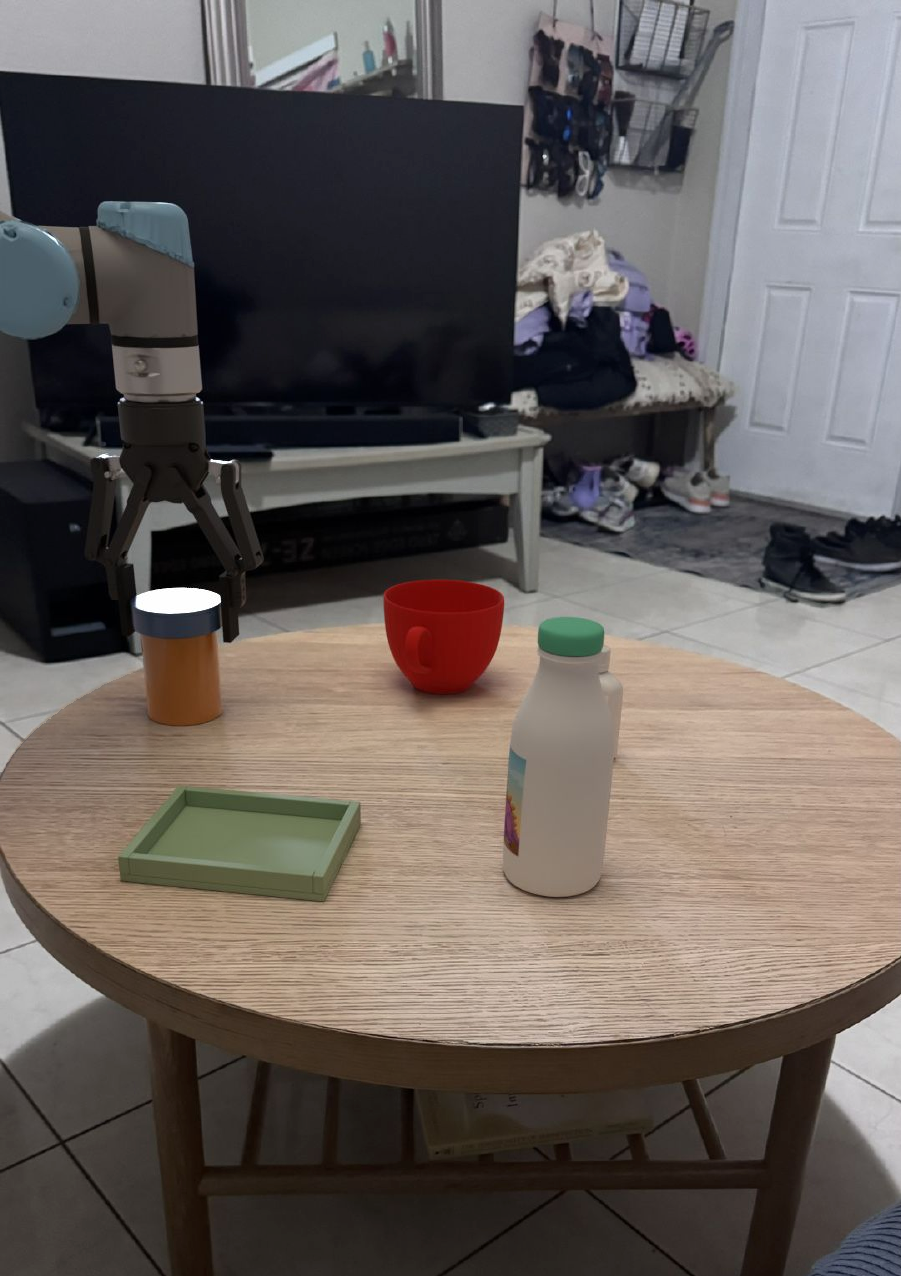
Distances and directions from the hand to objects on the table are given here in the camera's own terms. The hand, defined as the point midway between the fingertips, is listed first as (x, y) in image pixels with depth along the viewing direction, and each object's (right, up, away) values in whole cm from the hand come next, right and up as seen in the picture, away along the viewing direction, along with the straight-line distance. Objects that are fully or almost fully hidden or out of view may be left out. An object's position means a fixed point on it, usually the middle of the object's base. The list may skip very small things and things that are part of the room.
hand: (181, 635), depth 111 cm
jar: (0, -7, +4) cm, 8 cm away
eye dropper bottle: (+40, -12, -3) cm, 42 cm away
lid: (0, +3, -1) cm, 3 cm away
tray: (+11, -20, -22) cm, 32 cm away
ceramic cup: (+25, -4, +12) cm, 28 cm away
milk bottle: (+34, -22, -24) cm, 48 cm away
